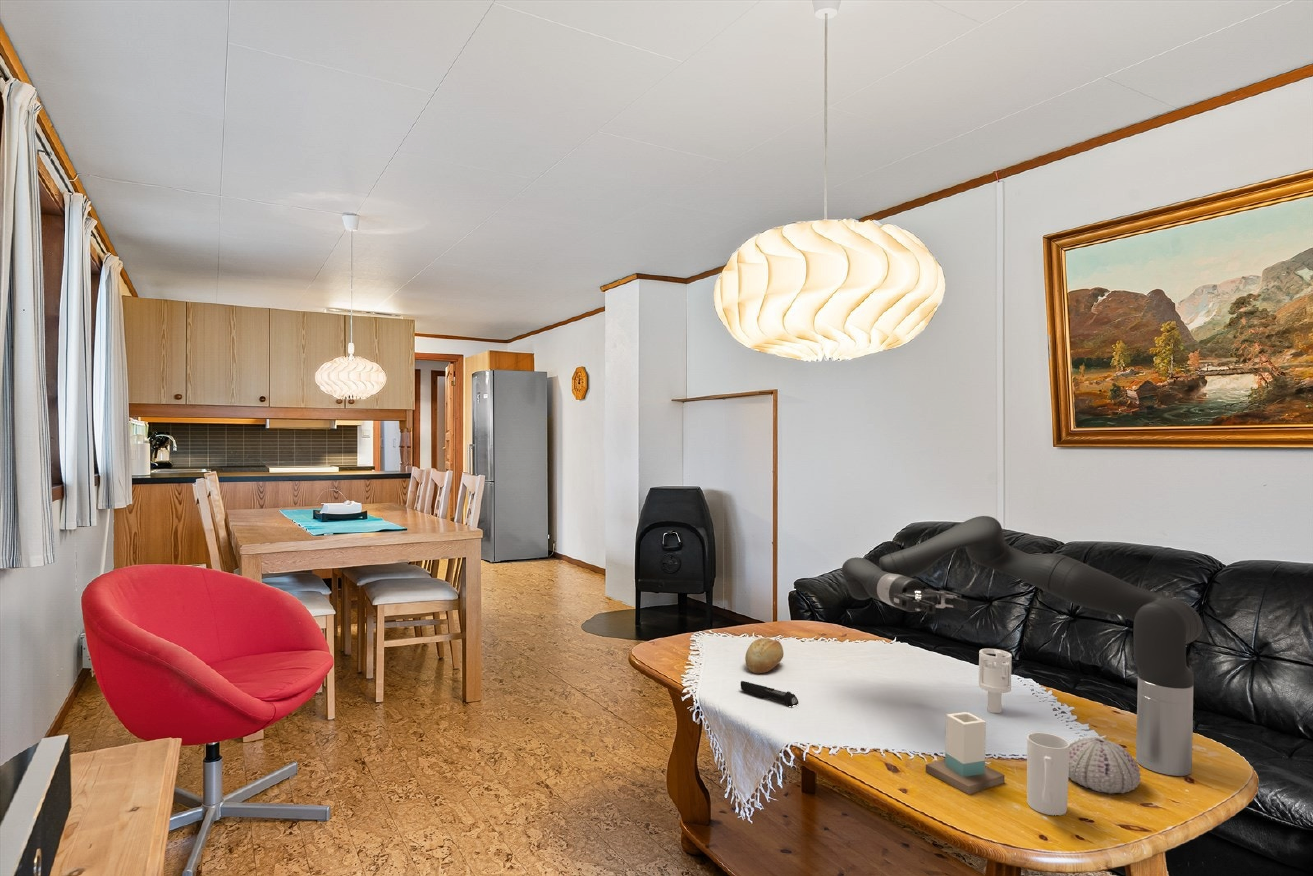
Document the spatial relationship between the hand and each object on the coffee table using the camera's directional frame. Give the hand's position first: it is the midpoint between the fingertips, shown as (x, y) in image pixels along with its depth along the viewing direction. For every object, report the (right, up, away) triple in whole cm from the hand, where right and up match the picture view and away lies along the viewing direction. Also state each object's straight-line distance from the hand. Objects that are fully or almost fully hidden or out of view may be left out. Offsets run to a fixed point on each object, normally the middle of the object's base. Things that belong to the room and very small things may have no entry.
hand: (950, 607), depth 159 cm
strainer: (+18, -29, +19) cm, 40 cm away
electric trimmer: (-35, -29, +26) cm, 52 cm away
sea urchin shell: (+22, -30, -16) cm, 41 cm away
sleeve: (-3, -28, -15) cm, 32 cm away
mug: (+6, -30, -27) cm, 41 cm away
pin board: (-3, -29, -15) cm, 33 cm away
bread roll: (-32, -28, +49) cm, 65 cm away
